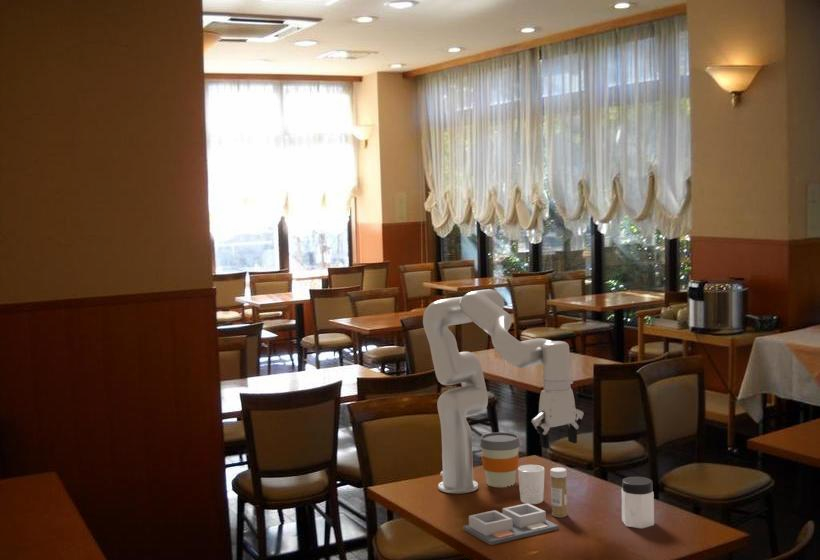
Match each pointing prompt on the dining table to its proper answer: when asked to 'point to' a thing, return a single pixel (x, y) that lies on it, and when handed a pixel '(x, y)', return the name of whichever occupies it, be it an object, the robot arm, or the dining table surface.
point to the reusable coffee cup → (500, 458)
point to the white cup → (531, 483)
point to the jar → (637, 502)
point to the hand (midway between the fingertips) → (558, 444)
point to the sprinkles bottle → (558, 492)
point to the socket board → (509, 524)
